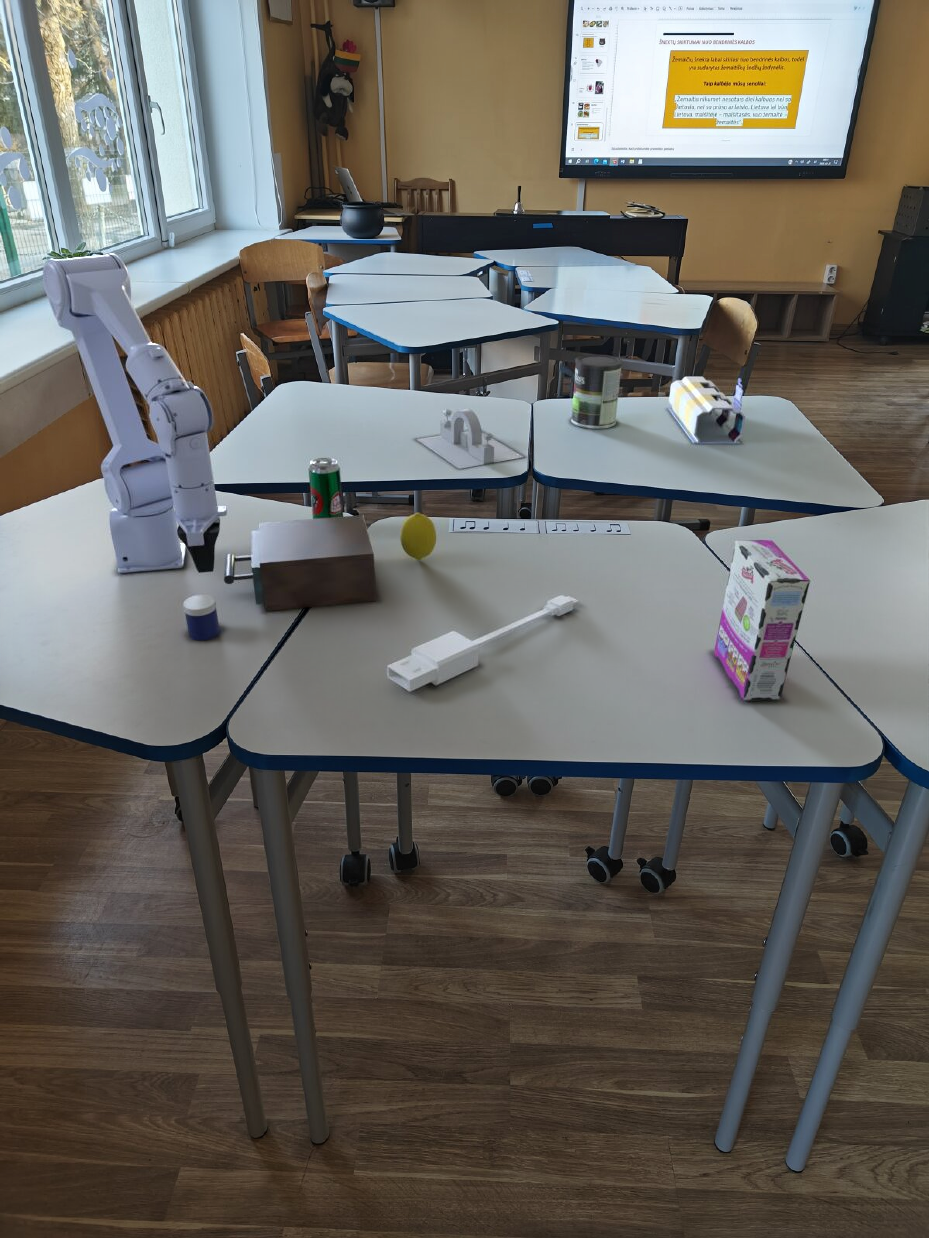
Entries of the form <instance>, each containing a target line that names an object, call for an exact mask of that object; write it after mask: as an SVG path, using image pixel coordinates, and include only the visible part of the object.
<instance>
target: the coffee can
mask: <svg viewBox="0 0 929 1238" xmlns="http://www.w3.org/2000/svg"><path fill="white" fill-rule="evenodd" d="M622 366H623V360H622V359H621V358H619V357H617V356H613V355H607V354H598V353H597V354H596V353H595V354H583V355H580V356H578V357H575V369H574V382H573V383H574V384H573V386H574V387H573V397H572V410H571V419H570V421H571V423H572V424H573V425H574V426H577V427H580V428H585V429H590V430H591V429H593V430H602V429H609V428H612V427H614V426H615V425H616V424H617V422H616V420H617V411H618V401H619V391H620V381H621V373H622Z"/></svg>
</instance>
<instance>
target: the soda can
mask: <svg viewBox="0 0 929 1238" xmlns="http://www.w3.org/2000/svg"><path fill="white" fill-rule="evenodd" d="M308 478H309V490H310V502H311V516H312V519H319V518H332V517H344V505H343V493H342V479H341V467H340V465H339V464H338V460H336V459H335V458H331V457H318V458H315V459H312V460H311V461H310V465H309V467H308Z"/></svg>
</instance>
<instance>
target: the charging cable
mask: <svg viewBox="0 0 929 1238" xmlns="http://www.w3.org/2000/svg"><path fill="white" fill-rule="evenodd" d="M578 602H579V600H578V599H576V598H574V597H572V596H570V595H568V596H565V595H563V594H561V595H559V596H556V597H553V598H551V599H549V600H547V602H546V604H545V605H543V609H541V610H538V611H537V612H536V611H535V612H534V613H532V614H530V615H528V616H525V617H522V618H521V619H518V620H516V621H514V622H512V623H509V624H508V625H505V626H502V627H500V628H498V629H497V630H494V631H491V632H490V633H488V634H485V635H483V636H481V637H479V638H476V639H473V640H471V639H469V638H467V637H466V636H464V635H462V634H460V633H459V632H456V631H455V630H452V631H450V632H448V633H445V634H443V635H441V636H438V637H436V638H433V639H431V640H429V641H427V642H425V643H424V642H423V643H422V644H420V645H418V646H415V647H413V648H411V655H408V656H406V657H404V658H401V659H399V660H397V661H395V662H392V663H390V664H388V665H386V677H387V678H388V679H389V680H392V681H393V682H394V683H396V684H397V685H398V686H400V687H402V688H403V689H404V690H406V691H408V692H409V693H410V692H412V691H415V690H416V689H419V688H421V687H424V686H425V685H427V684H430V683H431V684H433V685H434V686H438V685H440V684H442V683H445V682H446V681H448V680H451V679H453V678H455V677H457V676H459V675H461V674H462V673H465V672H467V671H469V670H471V669H474V668H476V667H478V665H479V652H480V646H483V645H484V644H487V643H489V642H491V641H493V640H495V639H498V638H500V637H502V636H505V635H506V634H510V633H511V632H513V631H515V630H518V629H520V628H522V627H524V626H526V625H528V624H530V623H533V622H535V621H538V620H539V619H541V618H543V617H546V616H548V615H549V616H551V617H552V616H557V617H560V616H562V615H565V614H567V613H569V612H571V611H572V610H573V611H574V604H576V603H578Z"/></svg>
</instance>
